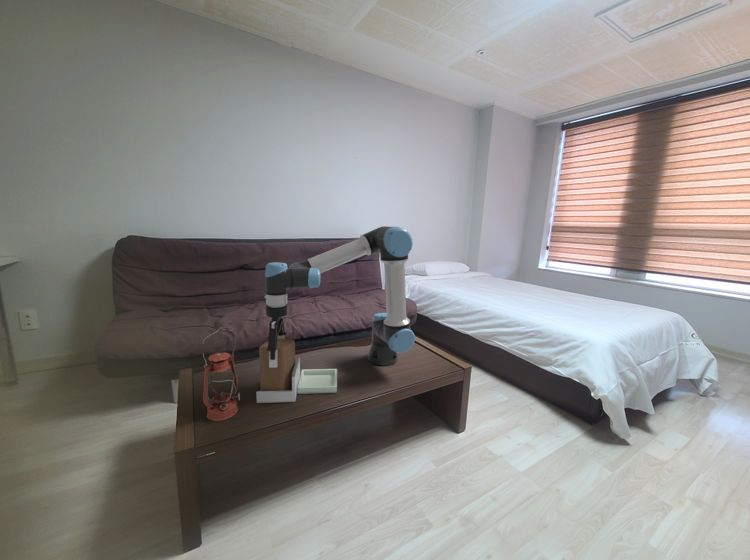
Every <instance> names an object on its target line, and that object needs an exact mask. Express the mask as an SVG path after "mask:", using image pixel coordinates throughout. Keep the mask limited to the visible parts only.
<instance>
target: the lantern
mask: <svg viewBox="0 0 750 560" xmlns="http://www.w3.org/2000/svg"><path fill="white" fill-rule="evenodd" d="M220 329H222V330H223V331H225V329H224V328H223V327H218V330H220ZM218 330H217V331H214V332H213V333H211V334H209V335H208V336H206V337H205V338H204V340H203V341H202V343H205V339H207V338H208V337H210V336H212V335H213V334H215V333H217V332H218ZM230 331H231V332H232V331H233V332H232V333H233V334H234V336H235V338H237V336H236V333H235V332H234V330H232V329H230ZM236 342H237V340H235V342H234V347H233V351H232V354H231V353H228V352H216V353H213V354H211V355H209V357H208V359H207V360H208V361H210V364H207V360H206V359H205V355H204V354H202V357H203V359H204V362H205V364H204V365H203V367H204V380H203V382H204V383H203V393H202V394H203V396H202V401H203V403H204V406H206V407H207V408H206V409H207V411H206V412H207V414H206V418H207V419H208V420H210V421H215V422H216V421H218V422H219V421H223V420H227V419H229V418H231V417H234V415H236V413H237V412H238V410H239V409H238V404H237V403H238V402H237V399H236V398H238V401H240V400H241V395H240V394H241V393H240V392H238V393H237V391H238V389H239V388H238V387H239V380H238V376H237V372H236V365H235V361H234V358H235V355H234V352H235V347H236V344H237V343H236ZM229 369H230V370H229ZM226 371H228V372H230V373H231V375H232V380H231V379H226V380H212V377H213V376H214V375H216V374H219V373H222V372H223V373H224V372H226ZM210 372H212V373H213V374H212V375H211V376H210ZM211 382H215V383H223V382H232V385H231V390H230V393H229V392H224V390H222V391H221V392H217V391H216V390H215V389H214V388H213V386H212V383H211ZM209 385H210V387H211V389H212V391H213V392H214V393H215V394H216V395H214V396H213V397H212V399H210V397H209V394H208V393H209ZM236 393H237V395H236ZM235 395H236V396H235Z"/></svg>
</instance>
